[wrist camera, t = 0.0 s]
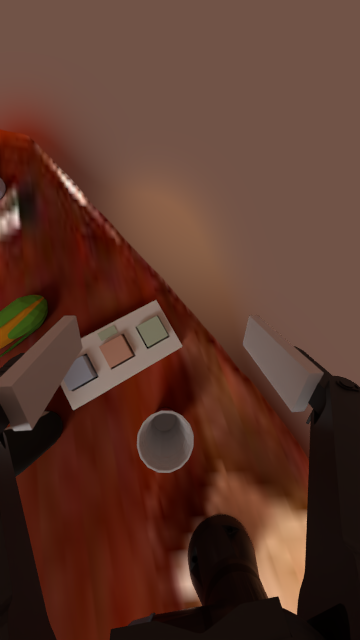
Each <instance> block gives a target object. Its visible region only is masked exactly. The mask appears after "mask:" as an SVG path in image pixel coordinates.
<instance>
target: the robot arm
mask: <svg viewBox="0 0 360 640" xmlns="http://www.w3.org/2000/svg"><path fill="white" fill-rule="evenodd" d="M243 346H244V347H245V348H246V350H247V351H248V352H249V354H250V355H251V356H252V358H253V359H254V361H255V362H256V364H257V365H258V366H259V368H260V369H261V370H262V372H263V373H264V375H265V376H266V377H267V379H268V380H269V381H270V383H271V384H272V386H273V387H274V388H275V390H276V391H277V392H278V394H279V395H280V397H281V398H282V399H283V401H284V402H285V403H286V405H287V406H288V407H289V409H290V410H291V412H300V411H305V409H306V407H307V405H308V403H309V404H310V405H311V407H312V408H313V410H312V413H311V414H310V416H309V418H308V420H307V422H306V423H307V424H309V422H310V421H311V427H310V456H309V480H308V507H307V534H306V560H305V574H304V579H303V582H302V585H301V588H300V593H299V598H298V608H297V615H296V614H294V613H292V612H290V611H288V610H286V609H284V608H282V606H281V603H280V600H279V597H273V598H268V596H267V594H266V592H265V590H264V588H263V585H262V583H261V581H260V578H259V573H258V567H257V562H256V557H255V552H254V548H253V545H252V542H251V540H250V538H249V536H248V533H247V531H246V530H245V528H244V527H243V525H242V524H241V523H240V522H239V521H238V520H236V519H235V518H233V517H231V516H228V515H215V516H212V517H210V518H208V519H206V520H205V521H203V522H202V523H201V524H200V525H199V526H198V528H197V529H196V530H195V532H194V534H193V536H192V538H191V541H190V544H189V548H188V565H189V571H190V577H191V580H192V584H193V586H194V588H195V590H196V593H197V595H198V597H199V599H200V601H201V604H202V606H201V607H194V608H189V609H184V610H178V611H173V612H168V613H163V614H156V615H155V613H152V614H151V615H150V616H148V617H144V618H141V619H137V620H134V621H132V622H131V623H130V624H129V625H128V626H125V627H120V628H115V629H111V634H110V640H360V387H359V386H358V385H357V384H355V383H354V382H352V381H351V380H348V379H346V378H343V377H339V376H332V375H331V374H330V373H329V372H327V371H326V370H325V369H324V368H323V367H322V366H321V365H319V364H318V363H317V362H316V361H314V359H312V358H311V357H309V355H308V354H306V353H305V352H304V351H303V350H301V349H299V348H297V347H295V346H293V345H291V344H290V343H289V342H288V341H287V340H286V339H285V338H283V337H282V336H281V335H280V334H279V333H278V332H277V331H275V330H274V329H273V328H272V327H271V326H270V325H269V324H267V323H266V322H265V321H264V320H263V319H262V318H261V317H260V316H258V315H255V316H249V319H248V324H247V328H246V332H245V336H244V341H243ZM82 348H83V347H82V342H81V338H80V333H79V328H78V324H77V319H76V316H64V317H63V318H61V319H60V320H59V321H58V322H57V323H56V324H55V325H54V326H53V327H52V328H51V329H50V330H49V331H48V332H47V333H46V334H45V335H44V336H43V337H42V338H41V339H40V340H39V341H38V342H36V343H35V344H34V345H33V346H32V347H31V348H30V349H29V350H28V351H27V352H26V353H20V354H19V355H17V356H15V357H13V358H12V359H10V360H9V361H8V362H7V363H6V364H5V365H3V367H1V368H0V640H56V637H55V635H54V632H53V630H52V628H51V625H50V623H49V620H48V616H47V612H46V608H45V603H44V599H43V595H42V590H41V586H40V582H39V577H38V573H37V569H36V564H35V560H34V556H33V551H32V547H31V543H30V538H29V534H28V530H27V525H26V521H25V517H24V512H23V508H22V504H21V499H20V495H19V491H18V486H17V482H16V478H15V473H14V469H13V465H12V460H11V456H10V452H9V447H8V443H7V439H6V435H5V433H4V432H3V431H4V429H5V428H6V427H7V425H8V424H9V423H10V425H11V427H12V428H13V430H14V431H24V430H32V429H33V428H34V426H35V424H36V423H37V421H38V420H39V418H40V416H41V415H42V413H43V411H44V410H45V408H46V407H47V405H48V403H49V402H50V400H51V398H52V397H53V395H54V394H55V392H56V390H57V389H58V387H59V385H60V384H61V382H62V381H63V379H64V377H65V376H66V374H67V372H68V371H69V369H70V368H71V366H72V364H73V363H74V361H75V359H76V358H77V356H78V355H79V353H80V351H81V350H82Z"/></svg>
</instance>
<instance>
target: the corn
mask: <svg viewBox="0 0 360 640" xmlns="http://www.w3.org/2000/svg"><path fill="white" fill-rule="evenodd" d="M46 302H47V301H46V300H45V298H44V297H43V296H41V295H29V296H25V297H21V298H18V299H16V300H15V301H14V302H12V303H11V304H10V305H8V306H7V307H6V308H4V309H3V310H2V311H0V349H1V348H3V347H4V346H6V345H8V344H9V343H11V342H12V341H14V340H16V339H17V338H18V337H20V336H23V335H24V334H26V333H27V332H28V331H29V332H28V333H27V334H26V335H25V336H24V337H22V338H21V339H20V340H19V341H18V342H17V343H15V344H14V345H13V346H12V347H11V348H9V349H8V350H7V351H5V352H4V353H3V354H2V355H1V356H3V355H4V354H6V353H7V352H9V351H10V350H12V349H13V348H14V347H15V346H17V345H18V344H19V343H20V342H22V341H23V340H24V339H25V338H27V337H28V336H29V335H30V334H32V333H33V332H34V331H35V330H36V329H38V328H39V327H40V326H41V325H42V324H43V322H44V320H45V318H46V316H47V313H48V302H47V303H46ZM46 309H47V310H46ZM43 317H44V318H43ZM42 318H43V319H42ZM1 356H0V357H1Z"/></svg>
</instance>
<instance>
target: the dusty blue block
mask: <svg viewBox="0 0 360 640" xmlns="http://www.w3.org/2000/svg"><path fill="white" fill-rule="evenodd" d="M97 376H98V374H97V372H96V370H95V368H94V367H93V365H92V363H91V361H90V359H89V357H88V355H86V356H81V357H79V358H77V359H75V361H74V363H73V364H72V366H71V368H70V369H69V371H68V372H67V374H66V376H65V377H64V379H63V380H64V382H65V384H66V386H67V388H68V390H69V391H71V390H73V389H75V388H77V387H80V386H81V385H83V384H85V383H87V382H88V381H90V380H92V379H94V378H95V377H97Z"/></svg>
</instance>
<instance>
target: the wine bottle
mask: <svg viewBox="0 0 360 640" xmlns="http://www.w3.org/2000/svg"><path fill="white" fill-rule="evenodd" d="M3 432H4V433H5V435H6V439H7V443H8V447H9V452H10V456H11V460H12V465H13V469H14V473H15V477H16V476H17V475H19V474H20V473H21V472H23V471H24V470H25V469H26V468H27V467H28V466H30V465H31V464H32V463H33V462H34V461H35V460H36V459H38V458H39V457H40V456H41V455H42V454H43V453H44V452H45V451H47V450H48V449H49V448H50V447H51V446H52V445H53V444H54V443H55V442H56V441H57V440H58V438H59V437H60V435H61V432H62V421H61V418H60V417H59V416H58V415H57V414H56V413H54V412H52V411H43V413H42V415H41V416H40V418H39V420H38V421H37V423H36V424H35V426H34V428H33V429H32V430H24V431H14V430H13V428H12V427H11V426H10V427H8V428H6V429H4V431H3Z"/></svg>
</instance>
